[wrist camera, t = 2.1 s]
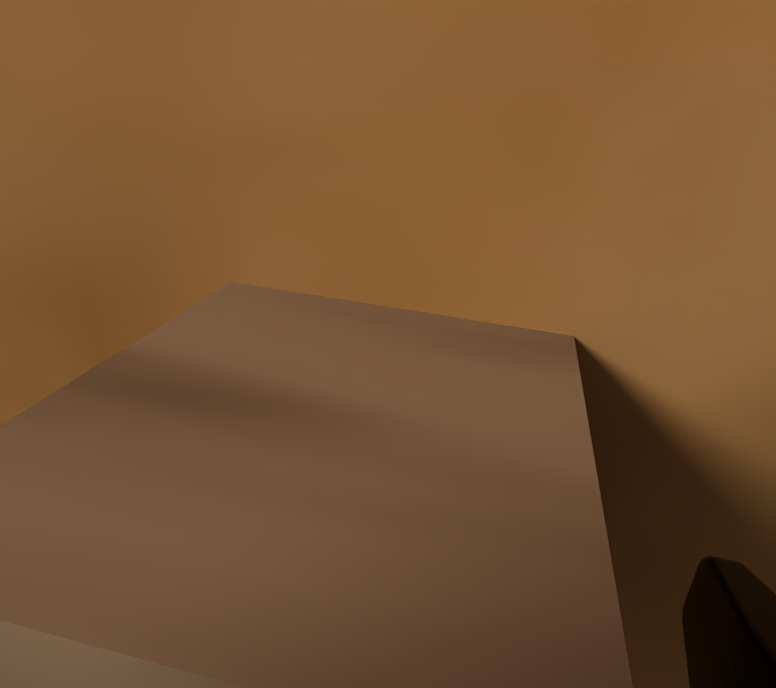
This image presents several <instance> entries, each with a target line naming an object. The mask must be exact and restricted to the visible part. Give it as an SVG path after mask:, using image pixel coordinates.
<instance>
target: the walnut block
mask: <svg viewBox="0 0 776 688" xmlns="http://www.w3.org/2000/svg"><path fill="white" fill-rule="evenodd" d="M0 688H633V685H632V679H631V673H630V667H629V661H628V655H627V649H626V643H625V637H624V631H623V625H622V619H621V613H620V608H619V602H618V596H617V590H616V584H615V578H614V572H613V566H612V560H611V554H610V548H609V542H608V536H607V530H606V524H605V518H604V512H603V506H602V500H601V494H600V488H599V482H598V476H597V471H596V465H595V459H594V453H593V447H592V441H591V435H590V429H589V423H588V417H587V411H586V405H585V399H584V393H583V387H582V381H581V375H580V369H579V363H578V357H577V351H576V345H575V339H574V336H568V335H562V334H555V333H549V332H543V331H536V330H530V329H524V328H517V327H511V326H505V325H498V324H492V323H486V322H479V321H473V320H467V319H460V318H454V317H448V316H441V315H435V314H429V313H423V312H416V311H410V310H404V309H397V308H391V307H385V306H378V305H372V304H366V303H359V302H353V301H347V300H340V299H334V298H328V297H321V296H315V295H309V294H303V293H296V292H290V291H284V290H277V289H271V288H265V287H258V286H252V285H246V284H239V283H233V282H230V283H228V284H227V285H225V286H223V287H222V288H220V289H219V290H217V291H215V292H214V293H212V294H211V295H209V296H207V297H206V298H204V299H203V300H201V301H199V302H198V303H196V304H195V305H193V306H192V307H190V308H188V309H187V310H185V311H184V312H182V313H180V314H179V315H177V316H176V317H174V318H172V319H171V320H169V321H168V322H166V323H164V324H163V325H161V326H160V327H158V328H156V329H155V330H153V331H152V332H150V333H148V334H147V335H145V336H144V337H142V338H141V339H139V340H137V341H136V342H134V343H133V344H131V345H129V346H128V347H126V348H125V349H123V350H121V351H120V352H118V353H117V354H115V355H113V356H112V357H110V358H109V359H107V360H105V361H104V362H102V363H101V364H99V365H97V366H96V367H94V368H93V369H91V370H90V371H88V372H86V373H85V374H83V375H82V376H80V377H78V378H77V379H75V380H74V381H72V382H70V383H69V384H67V385H66V386H64V387H62V388H61V389H59V390H58V391H56V392H54V393H53V394H51V395H50V396H48V397H46V398H45V399H43V400H42V401H40V402H39V403H37V404H35V405H34V406H32V407H31V408H29V409H27V410H26V411H24V412H23V413H21V414H19V415H18V416H16V417H15V418H13V419H11V420H10V421H8V422H7V423H5V424H3V425H2V426H0Z"/></svg>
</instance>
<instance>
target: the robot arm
mask: <svg viewBox="0 0 776 688" xmlns="http://www.w3.org/2000/svg"><path fill="white" fill-rule="evenodd" d="M682 622H683V632H684V641H685V650H686V658H687V667H688V676H689V685H690V688H776V594H775V593H774V592H772V591H771V590H770V589H769V588H768V587H767V586H766V585H765V584H764V583H763V582H762V581H760V580H759V579H758V578H757V577H756V576H755V575H754V574H753V573H752V572H751V571H750V570H748V569H747V568H746V567H745V566H744V565H743V564H741V563H739V562H736V561H732V560H727V559H722V558H717V557H713V556H708V557H705V558H703V559H702V561H701V562H700V564H699V566H698V568H697V571H696V574H695V576H694V579H693V581H692V584H691V587H690V589H689V592H688V594H687V597H686V600H685V603H684V607H683V614H682Z"/></svg>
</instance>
